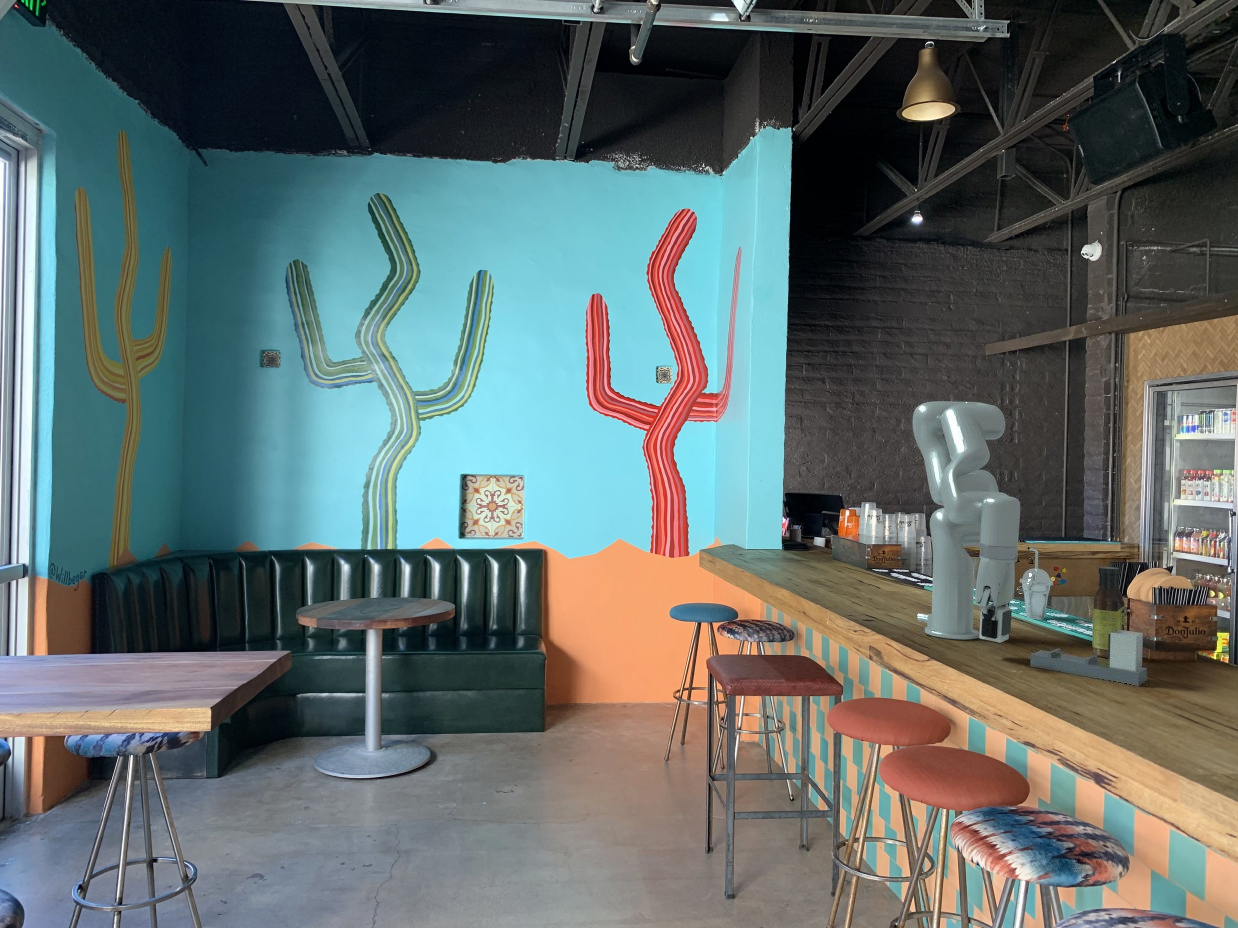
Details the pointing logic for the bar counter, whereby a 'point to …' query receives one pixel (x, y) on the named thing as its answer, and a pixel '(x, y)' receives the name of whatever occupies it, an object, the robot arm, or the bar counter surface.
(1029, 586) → the cup with straw
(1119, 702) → the bar counter surface
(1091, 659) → the rail
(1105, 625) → the sauce bottle
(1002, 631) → the finger block
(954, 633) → the robot arm
